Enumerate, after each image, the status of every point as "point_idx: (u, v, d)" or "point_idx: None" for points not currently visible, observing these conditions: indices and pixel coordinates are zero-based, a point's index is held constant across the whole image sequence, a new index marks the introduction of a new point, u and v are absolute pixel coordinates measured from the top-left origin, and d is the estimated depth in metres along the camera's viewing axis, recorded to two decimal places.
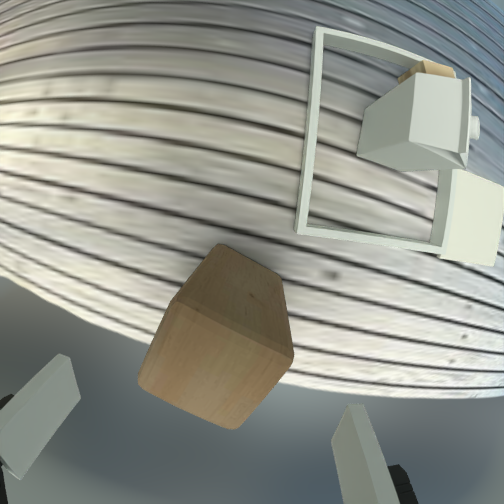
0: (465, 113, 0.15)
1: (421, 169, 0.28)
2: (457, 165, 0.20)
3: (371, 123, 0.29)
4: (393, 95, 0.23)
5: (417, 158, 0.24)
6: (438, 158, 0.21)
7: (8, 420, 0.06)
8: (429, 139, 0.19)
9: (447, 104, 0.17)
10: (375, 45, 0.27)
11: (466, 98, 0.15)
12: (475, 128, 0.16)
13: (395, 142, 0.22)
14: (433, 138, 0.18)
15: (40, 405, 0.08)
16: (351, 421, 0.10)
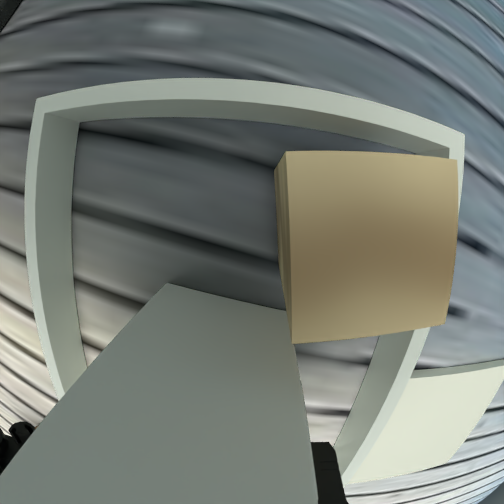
0: None
1: None
2: None
3: None
4: None
5: None
6: None
7: None
8: None
9: None
10: (166, 98, 0.10)
11: None
12: None
13: None
14: None
15: None
16: None
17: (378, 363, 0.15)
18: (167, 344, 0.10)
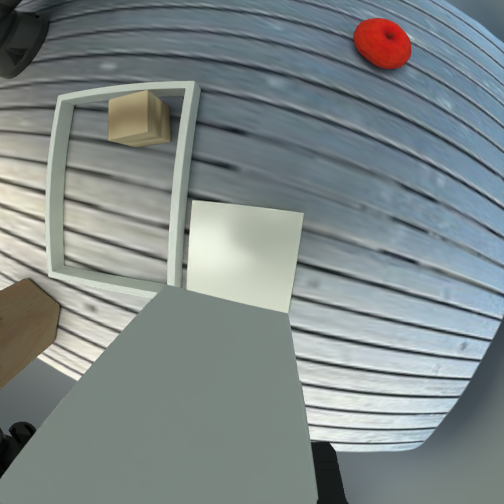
0: None
1: None
2: None
3: None
4: None
5: None
6: None
7: None
8: None
9: None
10: (99, 93, 0.30)
11: None
12: None
13: None
14: None
15: None
16: None
17: None
18: (166, 347, 0.10)
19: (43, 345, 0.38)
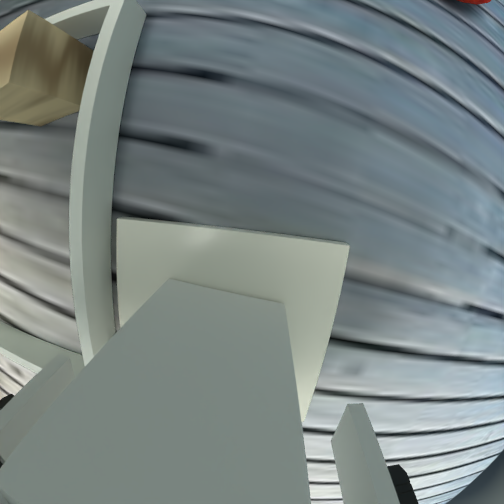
0: None
1: None
2: None
3: None
4: None
5: None
6: None
7: (8, 420, 0.06)
8: None
9: None
10: None
11: None
12: None
13: None
14: None
15: (40, 405, 0.08)
16: (351, 421, 0.10)
17: None
18: (170, 332, 0.11)
19: None
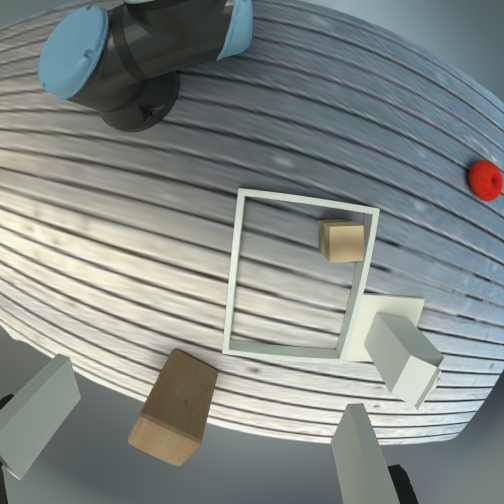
0: (427, 390, 0.30)
1: None
2: None
3: (377, 337, 0.44)
4: (395, 344, 0.38)
5: None
6: None
7: (8, 420, 0.06)
8: (401, 395, 0.33)
9: (420, 380, 0.32)
10: (293, 201, 0.41)
11: (432, 382, 0.30)
12: (433, 389, 0.31)
13: (385, 382, 0.37)
14: (404, 396, 0.33)
15: (40, 405, 0.08)
16: (351, 421, 0.10)
17: (354, 286, 0.46)
18: (398, 328, 0.42)
19: None
